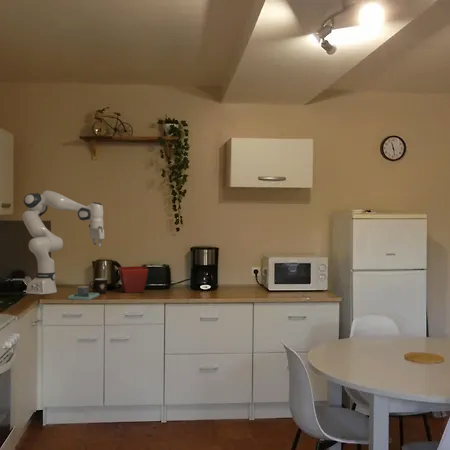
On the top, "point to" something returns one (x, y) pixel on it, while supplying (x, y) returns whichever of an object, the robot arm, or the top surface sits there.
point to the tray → (75, 297)
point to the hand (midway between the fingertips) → (97, 245)
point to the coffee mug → (100, 285)
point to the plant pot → (133, 278)
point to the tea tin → (83, 291)
